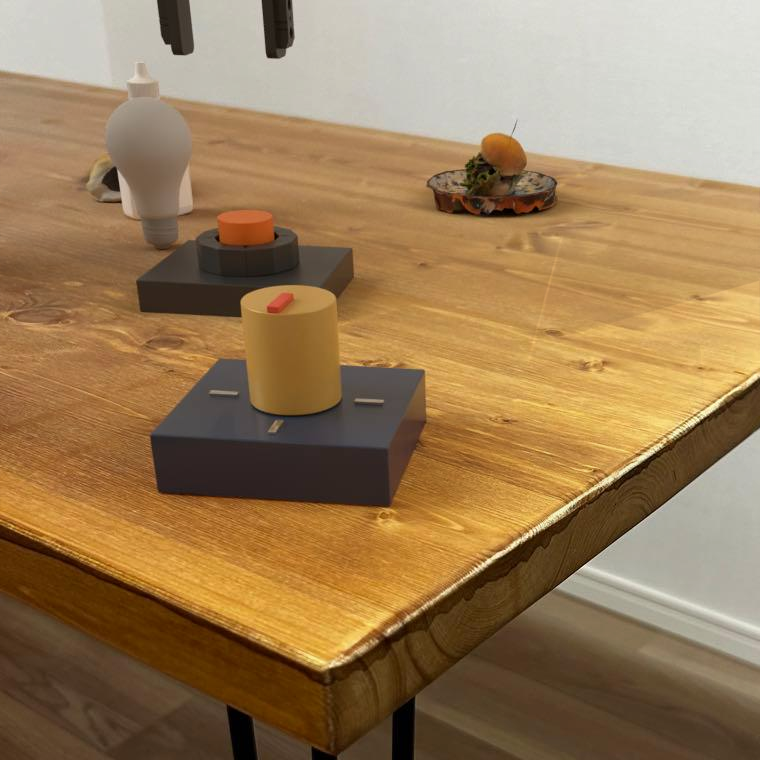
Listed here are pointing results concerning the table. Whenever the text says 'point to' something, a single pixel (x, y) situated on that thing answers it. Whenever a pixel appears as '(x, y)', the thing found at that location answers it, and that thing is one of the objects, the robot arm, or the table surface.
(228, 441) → the dial panel
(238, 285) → the button box
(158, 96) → the plastic bottle
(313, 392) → the dial
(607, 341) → the table surface
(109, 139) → the lightbulb
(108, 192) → the pastry
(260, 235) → the button
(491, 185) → the burger
